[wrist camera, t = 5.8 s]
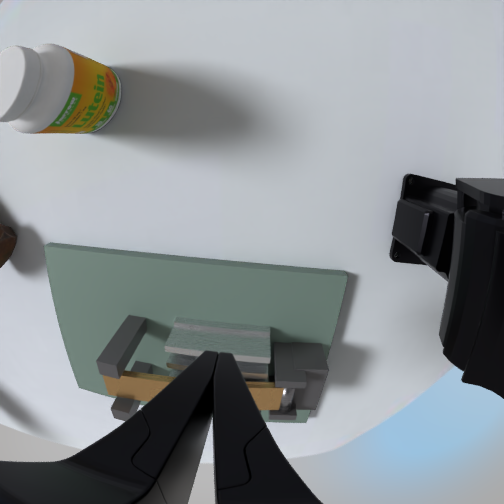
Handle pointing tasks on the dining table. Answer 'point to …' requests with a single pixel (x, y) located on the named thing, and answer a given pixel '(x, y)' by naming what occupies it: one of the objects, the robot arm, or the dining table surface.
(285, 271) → the board
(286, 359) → the block
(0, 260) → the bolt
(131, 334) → the lug fork
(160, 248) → the dining table surface
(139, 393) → the brown long flat bar
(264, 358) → the heatsink
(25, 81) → the supplement bottle
